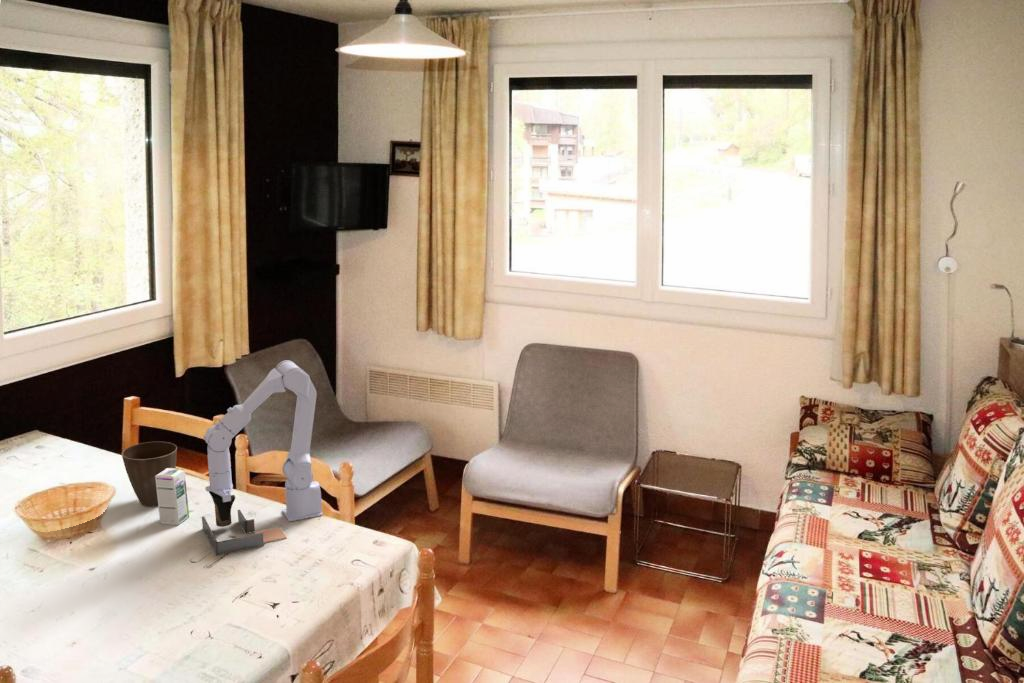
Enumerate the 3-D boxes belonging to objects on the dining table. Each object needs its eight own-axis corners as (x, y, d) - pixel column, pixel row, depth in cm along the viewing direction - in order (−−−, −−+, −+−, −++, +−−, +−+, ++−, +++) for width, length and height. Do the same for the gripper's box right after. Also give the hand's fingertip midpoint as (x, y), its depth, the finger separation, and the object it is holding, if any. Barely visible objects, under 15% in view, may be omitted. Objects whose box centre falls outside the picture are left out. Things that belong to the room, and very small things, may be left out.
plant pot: (118, 500, 274) (113, 449, 270) (168, 487, 284) (164, 437, 280) (138, 517, 264) (133, 463, 260) (190, 502, 273) (185, 450, 269)
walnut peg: (229, 519, 259) (227, 495, 257) (232, 524, 255) (231, 500, 253) (214, 522, 257) (212, 498, 255) (217, 527, 253) (215, 503, 252)
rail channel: (247, 519, 262) (246, 508, 261) (263, 546, 247) (263, 533, 246) (202, 528, 257) (201, 516, 256) (216, 555, 241) (215, 543, 240)
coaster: (279, 528, 257) (279, 527, 257) (286, 538, 251) (286, 537, 251) (253, 533, 254) (253, 532, 254) (260, 544, 248) (260, 542, 248)
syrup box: (178, 525, 258) (174, 476, 255) (159, 523, 259) (154, 474, 256) (189, 517, 264) (185, 468, 260) (170, 515, 265) (166, 467, 261)
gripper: (199, 463, 257) (202, 509, 260) (209, 482, 244) (213, 530, 247) (225, 459, 260) (228, 505, 263) (237, 477, 247) (240, 524, 251)
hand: (223, 517), depth 256 cm, fingers closed on walnut peg, 4 cm apart
